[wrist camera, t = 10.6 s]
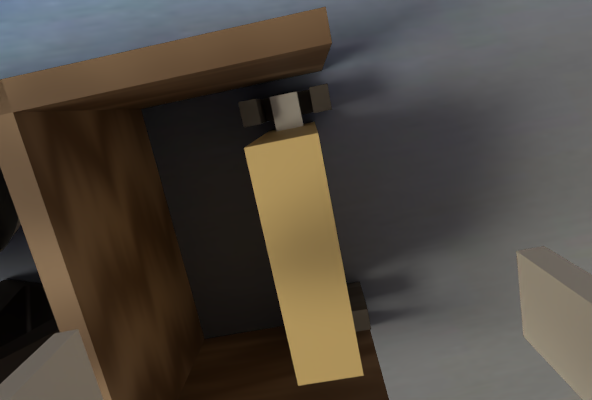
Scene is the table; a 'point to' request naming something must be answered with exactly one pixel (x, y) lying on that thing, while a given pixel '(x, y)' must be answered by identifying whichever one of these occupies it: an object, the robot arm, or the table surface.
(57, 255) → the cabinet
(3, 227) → the pump dispenser
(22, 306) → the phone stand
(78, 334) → the robot arm
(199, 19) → the table surface
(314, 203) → the yellow rectangular block
